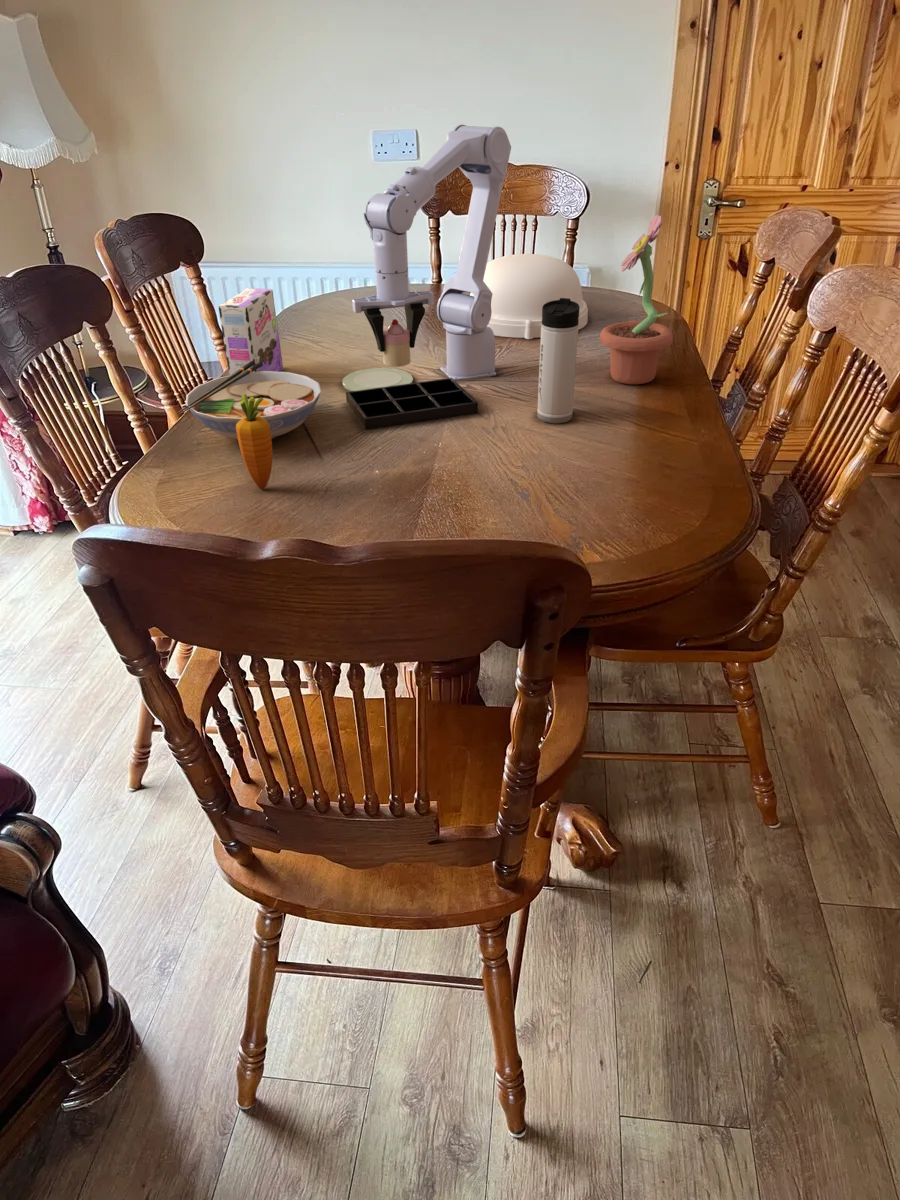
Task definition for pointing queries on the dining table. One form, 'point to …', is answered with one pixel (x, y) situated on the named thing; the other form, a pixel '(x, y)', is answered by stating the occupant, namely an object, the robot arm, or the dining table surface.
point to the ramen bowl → (280, 406)
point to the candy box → (251, 331)
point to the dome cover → (529, 292)
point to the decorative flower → (638, 324)
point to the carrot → (255, 442)
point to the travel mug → (557, 360)
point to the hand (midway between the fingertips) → (395, 348)
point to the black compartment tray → (410, 403)
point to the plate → (376, 378)
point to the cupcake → (396, 345)
